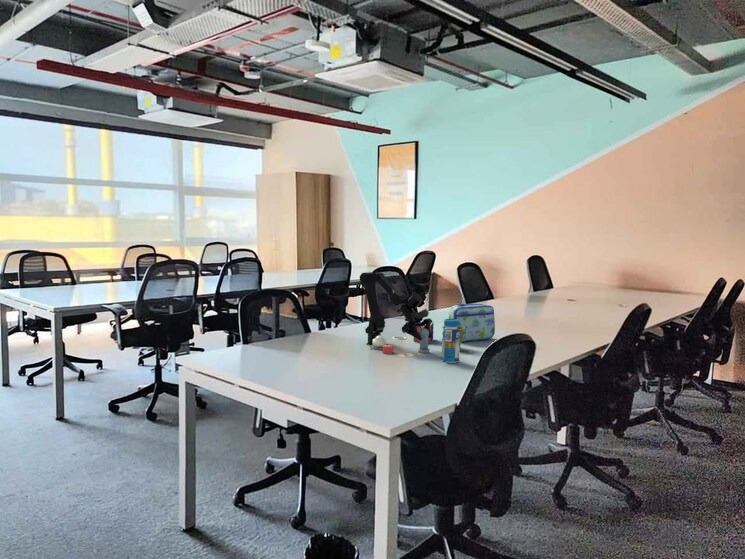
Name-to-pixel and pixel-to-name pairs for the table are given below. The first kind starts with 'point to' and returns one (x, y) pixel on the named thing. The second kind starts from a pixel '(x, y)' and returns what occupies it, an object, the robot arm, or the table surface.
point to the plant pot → (461, 330)
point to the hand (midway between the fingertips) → (426, 338)
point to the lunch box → (474, 321)
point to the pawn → (424, 341)
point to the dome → (379, 341)
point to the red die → (387, 349)
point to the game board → (412, 354)
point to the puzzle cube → (428, 337)
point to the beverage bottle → (450, 341)
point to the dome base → (376, 348)
